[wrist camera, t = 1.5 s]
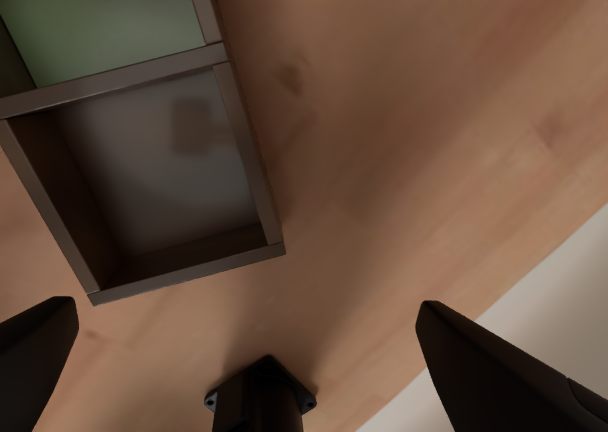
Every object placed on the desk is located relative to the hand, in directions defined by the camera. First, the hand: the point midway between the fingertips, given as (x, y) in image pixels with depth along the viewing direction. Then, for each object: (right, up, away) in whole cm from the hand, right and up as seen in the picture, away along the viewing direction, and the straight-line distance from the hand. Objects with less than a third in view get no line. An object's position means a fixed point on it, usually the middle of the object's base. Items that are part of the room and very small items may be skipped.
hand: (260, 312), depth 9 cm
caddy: (-8, +10, +9) cm, 16 cm away
